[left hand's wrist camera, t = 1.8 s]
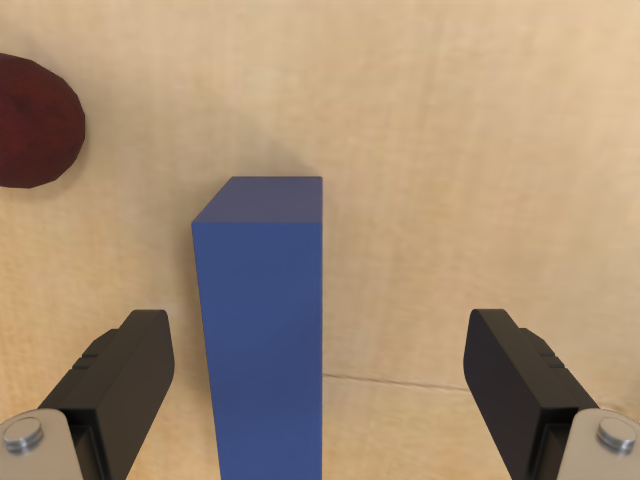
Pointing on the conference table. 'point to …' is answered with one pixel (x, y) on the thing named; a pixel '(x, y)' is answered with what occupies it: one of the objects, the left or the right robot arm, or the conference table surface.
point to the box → (264, 324)
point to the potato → (36, 124)
